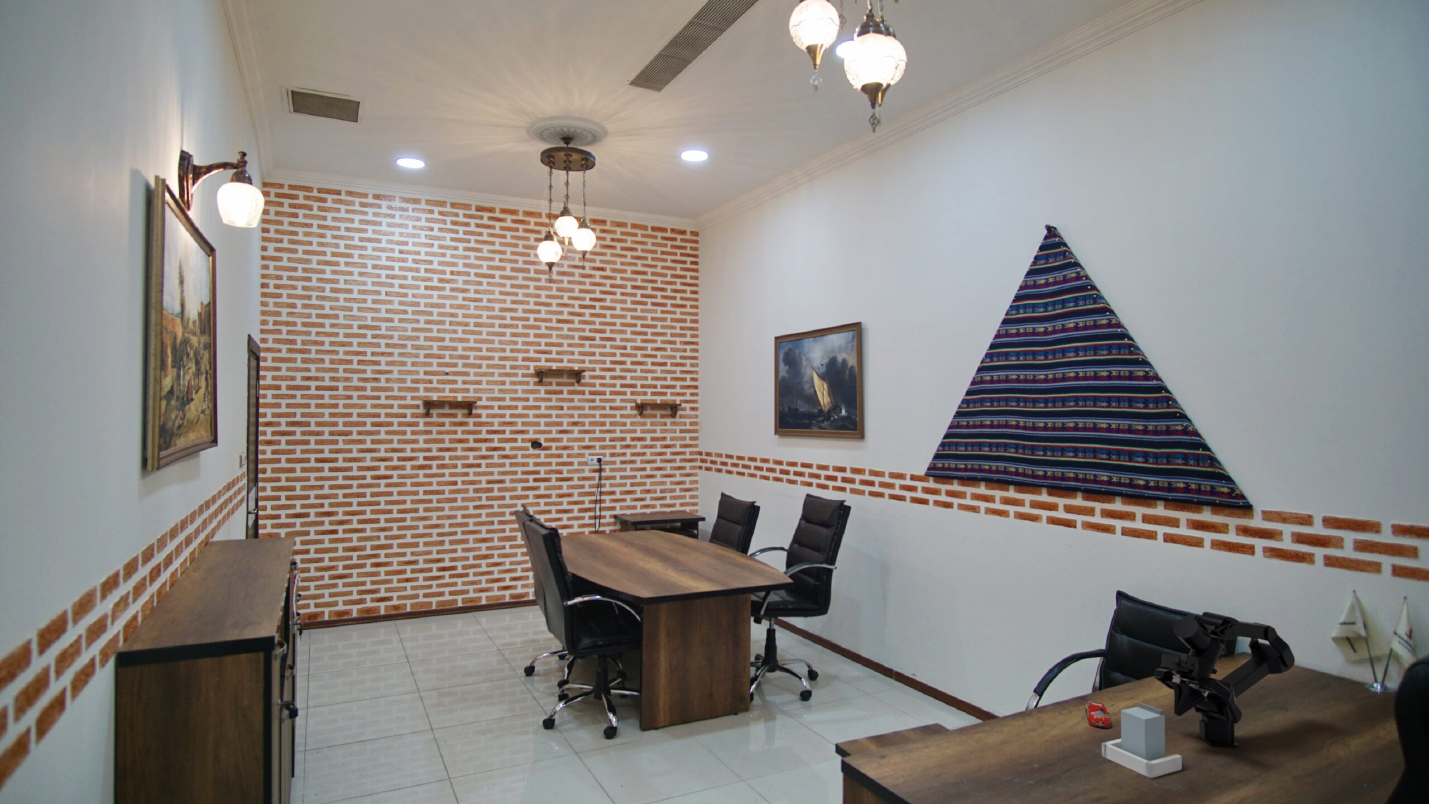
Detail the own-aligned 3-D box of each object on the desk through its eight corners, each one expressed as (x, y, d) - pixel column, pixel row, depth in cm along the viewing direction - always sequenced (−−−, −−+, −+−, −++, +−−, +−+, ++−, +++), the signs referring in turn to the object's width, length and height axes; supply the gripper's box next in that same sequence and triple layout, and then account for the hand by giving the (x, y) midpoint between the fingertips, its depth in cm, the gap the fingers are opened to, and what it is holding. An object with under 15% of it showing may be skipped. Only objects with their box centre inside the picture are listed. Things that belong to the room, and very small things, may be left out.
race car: (1111, 731, 196) (1111, 716, 196) (1088, 728, 198) (1088, 713, 198) (1106, 713, 208) (1106, 699, 208) (1084, 710, 210) (1084, 696, 210)
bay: (1131, 748, 185) (1131, 735, 185) (1181, 769, 174) (1181, 756, 174) (1101, 756, 181) (1101, 743, 181) (1150, 778, 170) (1150, 764, 170)
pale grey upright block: (1141, 753, 182) (1140, 701, 182) (1165, 763, 176) (1164, 710, 177) (1121, 758, 179) (1120, 706, 179) (1145, 769, 173) (1144, 715, 174)
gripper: (1149, 636, 197) (1123, 689, 193) (1206, 644, 179) (1180, 703, 175) (1182, 661, 197) (1158, 714, 193) (1243, 671, 179) (1218, 731, 175)
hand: (1176, 715), depth 184 cm, fingers closed
